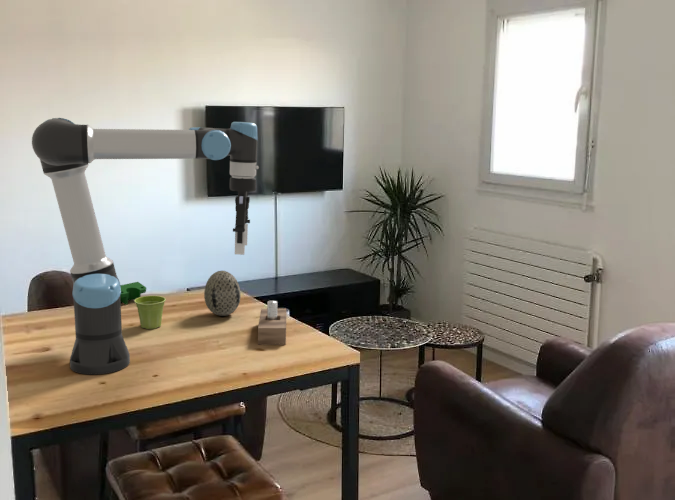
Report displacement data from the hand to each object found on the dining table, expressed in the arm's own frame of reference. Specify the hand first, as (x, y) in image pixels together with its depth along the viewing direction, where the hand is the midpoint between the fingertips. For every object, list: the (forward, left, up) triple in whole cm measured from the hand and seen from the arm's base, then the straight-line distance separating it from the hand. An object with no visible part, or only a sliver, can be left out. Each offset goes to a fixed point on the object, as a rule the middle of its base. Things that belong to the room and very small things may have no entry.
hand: (241, 249), depth 212 cm
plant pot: (+11, +29, -27) cm, 41 cm away
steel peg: (+4, -9, -27) cm, 29 cm away
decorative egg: (+23, +8, -27) cm, 36 cm away
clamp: (+38, +42, -27) cm, 63 cm away
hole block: (+4, -9, -27) cm, 29 cm away
